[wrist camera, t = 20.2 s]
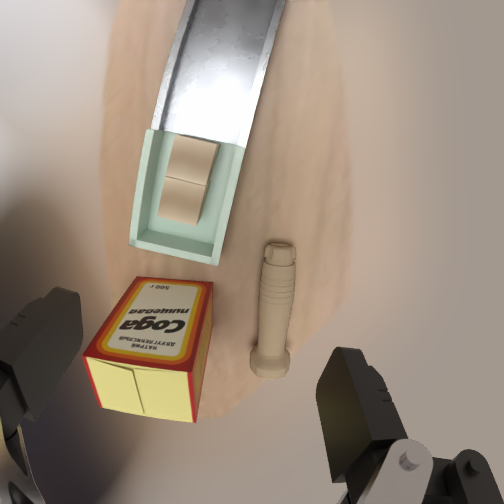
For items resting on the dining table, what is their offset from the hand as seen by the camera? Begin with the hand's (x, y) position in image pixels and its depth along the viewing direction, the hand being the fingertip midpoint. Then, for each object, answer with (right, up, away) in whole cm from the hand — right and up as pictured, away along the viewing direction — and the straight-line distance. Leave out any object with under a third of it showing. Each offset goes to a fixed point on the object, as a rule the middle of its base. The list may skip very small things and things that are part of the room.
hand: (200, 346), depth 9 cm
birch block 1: (-4, +13, +22) cm, 26 cm away
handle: (+5, +4, +24) cm, 25 cm away
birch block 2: (-5, +9, +24) cm, 26 cm away
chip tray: (-5, +9, +24) cm, 26 cm away
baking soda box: (-8, -3, +29) cm, 30 cm away
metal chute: (-1, +24, +18) cm, 30 cm away
